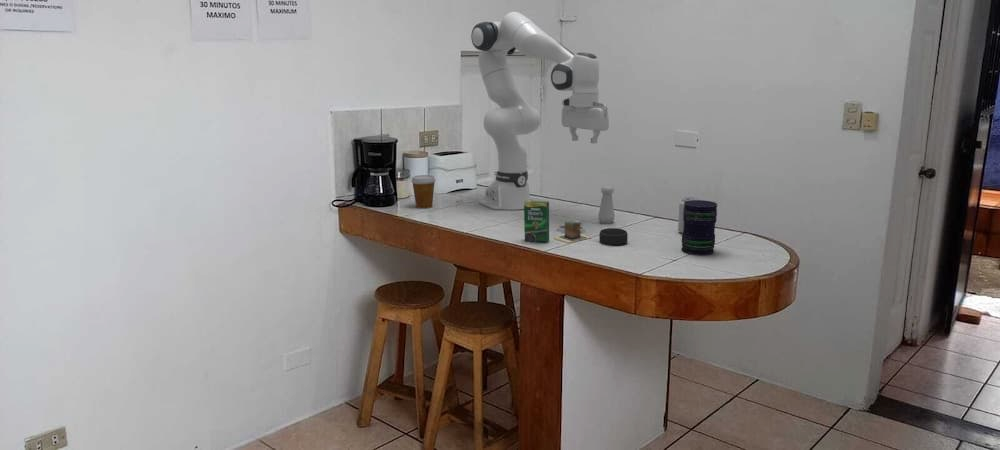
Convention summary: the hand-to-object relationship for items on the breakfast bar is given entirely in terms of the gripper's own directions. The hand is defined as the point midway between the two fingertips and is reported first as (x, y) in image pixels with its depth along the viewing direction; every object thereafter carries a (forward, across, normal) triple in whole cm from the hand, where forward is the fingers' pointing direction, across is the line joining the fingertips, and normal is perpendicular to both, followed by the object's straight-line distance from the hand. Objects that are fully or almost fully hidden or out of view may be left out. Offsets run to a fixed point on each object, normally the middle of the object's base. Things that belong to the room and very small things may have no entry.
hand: (584, 141), depth 247 cm
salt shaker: (+29, -4, -8) cm, 31 cm away
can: (+29, -32, -19) cm, 47 cm away
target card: (+29, -13, +17) cm, 36 cm away
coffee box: (+29, -9, +28) cm, 42 cm away
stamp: (+29, -13, +17) cm, 36 cm away
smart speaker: (+30, -25, +10) cm, 40 cm away
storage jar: (+29, -48, -3) cm, 56 cm away
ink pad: (+29, -6, +11) cm, 32 cm away
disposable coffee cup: (+29, +59, +30) cm, 72 cm away
